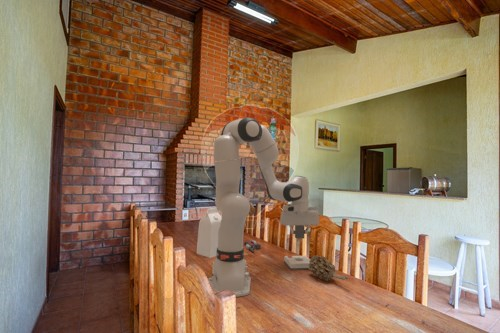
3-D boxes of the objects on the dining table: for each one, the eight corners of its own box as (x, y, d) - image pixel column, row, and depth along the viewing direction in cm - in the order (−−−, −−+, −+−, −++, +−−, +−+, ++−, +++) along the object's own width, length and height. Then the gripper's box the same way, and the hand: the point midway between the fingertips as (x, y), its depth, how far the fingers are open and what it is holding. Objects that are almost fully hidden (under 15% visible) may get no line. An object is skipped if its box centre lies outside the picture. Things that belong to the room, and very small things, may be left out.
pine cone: (302, 275, 127) (303, 254, 127) (316, 271, 133) (316, 251, 133) (343, 293, 110) (344, 268, 110) (357, 288, 115) (357, 264, 115)
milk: (211, 249, 166) (213, 206, 166) (225, 253, 158) (226, 208, 159) (196, 253, 156) (197, 208, 157) (210, 258, 149) (211, 210, 149)
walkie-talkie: (241, 245, 178) (252, 254, 159) (241, 238, 178) (252, 246, 159) (253, 244, 181) (265, 253, 162) (253, 237, 181) (266, 245, 162)
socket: (314, 269, 136) (314, 262, 136) (290, 269, 134) (290, 262, 134) (305, 261, 148) (305, 254, 148) (284, 261, 146) (284, 255, 146)
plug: (304, 242, 138) (304, 227, 138) (295, 241, 139) (295, 227, 139) (303, 239, 144) (303, 225, 144) (294, 239, 144) (295, 224, 145)
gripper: (316, 206, 146) (316, 232, 146) (279, 206, 143) (279, 232, 143) (321, 208, 140) (321, 234, 140) (282, 208, 137) (282, 235, 137)
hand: (299, 233), depth 141 cm, fingers closed on plug, 5 cm apart
